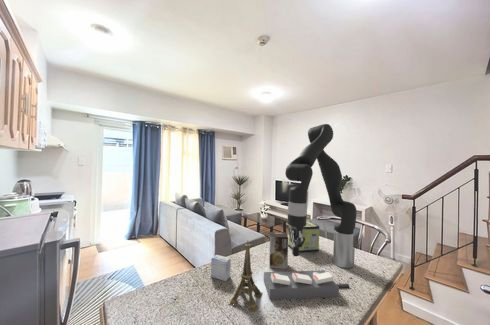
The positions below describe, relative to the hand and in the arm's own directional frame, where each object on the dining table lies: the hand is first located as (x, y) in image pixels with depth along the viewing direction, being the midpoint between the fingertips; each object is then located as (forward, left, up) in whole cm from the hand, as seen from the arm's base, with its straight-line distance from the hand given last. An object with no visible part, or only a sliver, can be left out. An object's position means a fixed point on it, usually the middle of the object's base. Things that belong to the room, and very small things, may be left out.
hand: (295, 255), depth 83 cm
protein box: (-20, -40, -15) cm, 48 cm away
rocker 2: (-3, 0, -9) cm, 10 cm away
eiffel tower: (+20, +3, -16) cm, 25 cm away
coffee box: (+1, -21, -15) cm, 26 cm away
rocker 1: (+6, 0, -9) cm, 11 cm away
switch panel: (-7, -2, -15) cm, 17 cm away
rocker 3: (-12, 0, -9) cm, 15 cm away
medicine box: (+30, -12, -15) cm, 36 cm away
